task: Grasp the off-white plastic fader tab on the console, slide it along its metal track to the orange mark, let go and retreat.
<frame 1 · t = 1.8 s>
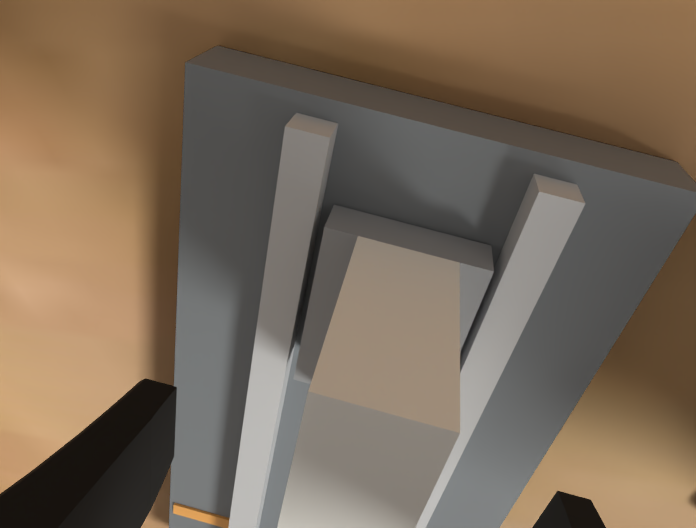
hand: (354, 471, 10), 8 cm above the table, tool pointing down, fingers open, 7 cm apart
fader tab: (373, 383, 12), point 5 cm above the table, slide at 0.0 cm
fader console: (352, 407, 20), on the table
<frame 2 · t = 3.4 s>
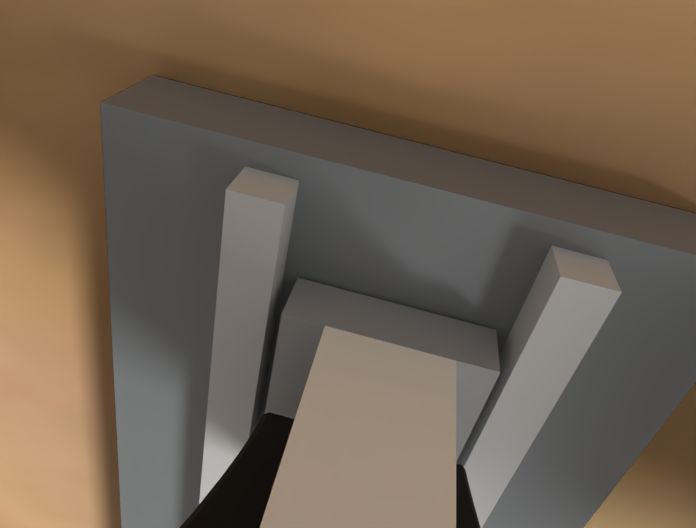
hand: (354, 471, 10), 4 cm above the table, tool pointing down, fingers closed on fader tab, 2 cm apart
fader tab: (344, 519, 10), point 5 cm above the table, slide at 0.0 cm, touching gripper
fader console: (332, 485, 17), on the table
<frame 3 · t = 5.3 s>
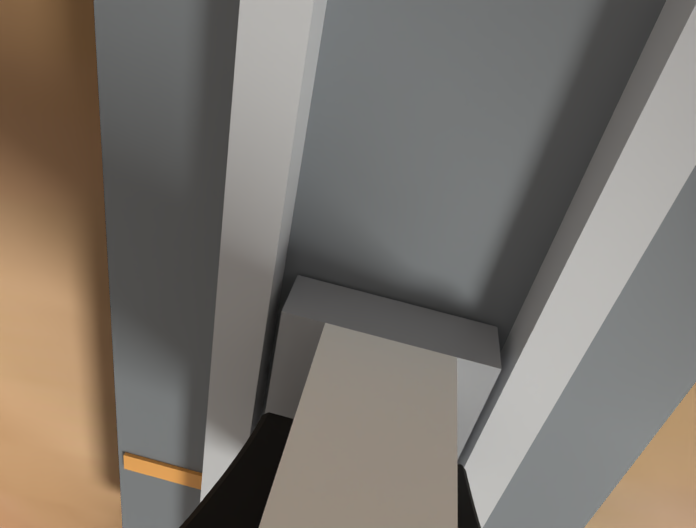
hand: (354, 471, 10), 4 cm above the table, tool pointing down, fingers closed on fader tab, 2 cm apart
fader tab: (345, 517, 10), point 5 cm above the table, slide at 7.5 cm, touching gripper
fader console: (389, 299, 13), on the table
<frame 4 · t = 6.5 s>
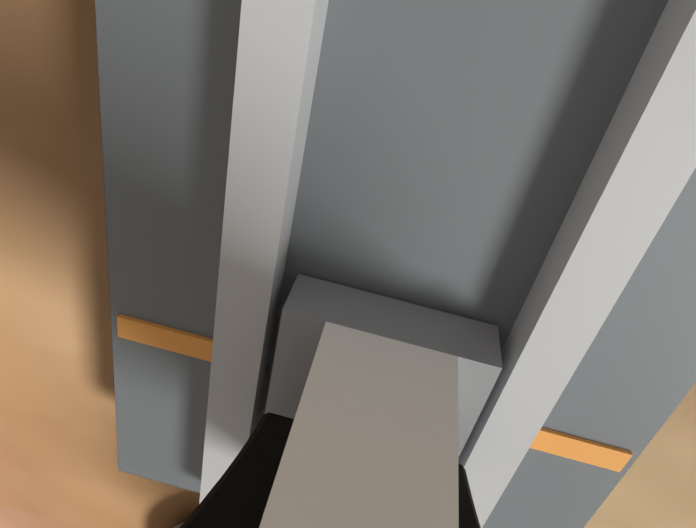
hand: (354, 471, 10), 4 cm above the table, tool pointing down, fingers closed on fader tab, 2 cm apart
fader tab: (346, 516, 10), point 5 cm above the table, slide at 12.3 cm, touching gripper
fader console: (449, 103, 11), on the table
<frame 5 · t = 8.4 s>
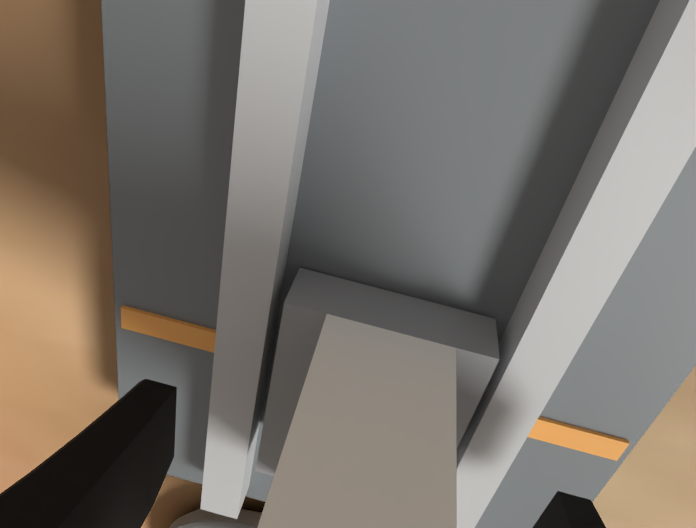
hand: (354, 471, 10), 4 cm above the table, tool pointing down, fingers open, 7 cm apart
fader tab: (346, 504, 10), point 5 cm above the table, slide at 12.4 cm
fader console: (448, 96, 11), on the table
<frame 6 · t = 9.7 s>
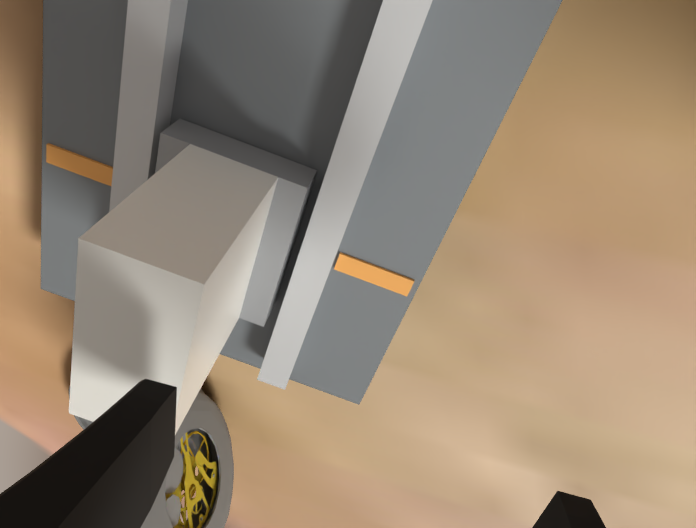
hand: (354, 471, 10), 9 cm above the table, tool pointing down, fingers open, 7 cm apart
fader tab: (189, 275, 14), point 5 cm above the table, slide at 12.4 cm
pocket watch: (177, 400, 25), on the table
fader console: (299, 6, 15), on the table
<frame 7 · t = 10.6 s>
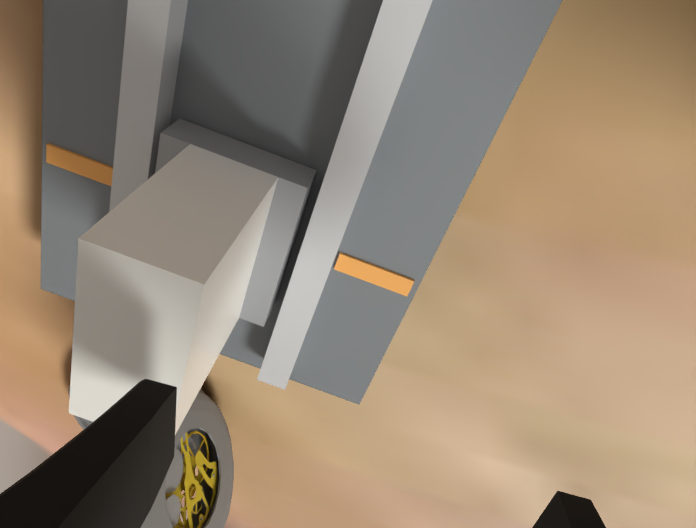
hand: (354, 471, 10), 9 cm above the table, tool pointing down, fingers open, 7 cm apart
fader tab: (189, 275, 14), point 5 cm above the table, slide at 12.4 cm
pocket watch: (177, 400, 25), on the table
fader console: (299, 6, 15), on the table
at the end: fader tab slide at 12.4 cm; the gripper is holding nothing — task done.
